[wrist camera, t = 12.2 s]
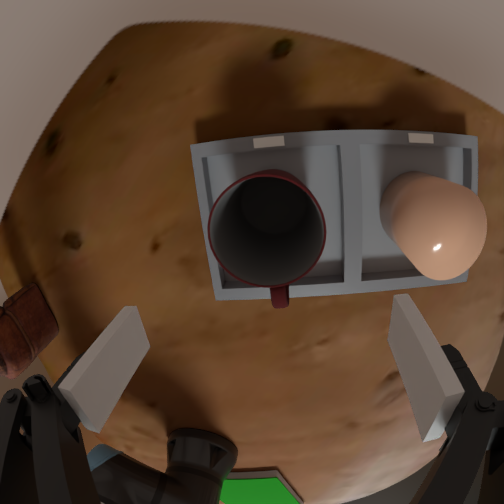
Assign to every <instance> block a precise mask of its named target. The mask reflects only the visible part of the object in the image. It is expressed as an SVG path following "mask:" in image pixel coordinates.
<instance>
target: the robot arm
mask: <svg viewBox="0 0 504 504" xmlns="http://www.w3.org/2000/svg"><path fill="white" fill-rule="evenodd" d="M387 341H388V343H389V346H390V348H391V351H392V353H393V356H394V359H395V361H396V364H397V366H398V369H399V372H400V375H401V377H402V380H403V383H404V386H405V389H406V392H407V394H408V397H409V400H410V403H411V406H412V409H413V413H414V416H415V419H416V422H417V425H418V428H419V432H420V435H421V439H422V442H426V441H430V440H434V439H437V438H440V437H441V435H442V433H443V432H444V430H445V431H446V434H447V436H448V437H447V439H446V440H445V442H444V443H443V445H442V446H441V448H440V449H439V451H440V452H439V454H438V456H437V458H436V460H435V462H434V464H433V465H432V467H431V469H430V471H429V473H428V474H427V476H426V478H425V480H424V481H423V483H422V484H421V486H420V488H419V489H418V491H417V493H416V494H415V496H414V497H413V499H412V500H411V502H410V503H409V504H463V502H464V500H465V498H466V496H467V494H468V492H469V490H470V488H471V486H472V483H473V481H474V479H475V476H476V474H477V472H478V469H479V467H480V464H481V461H482V459H483V456H484V453H485V451H486V457H485V464H484V471H483V478H482V484H481V489H480V494H479V499H478V504H504V401H498V400H497V399H496V398H495V397H494V396H493V395H492V394H490V393H488V392H482V390H481V389H480V387H479V385H478V383H477V381H476V380H475V378H474V376H473V374H472V373H471V371H470V369H469V367H467V364H466V362H465V361H464V360H463V357H462V356H461V354H460V352H459V351H458V350H457V349H456V348H454V347H453V346H452V345H450V344H448V345H443V346H440V345H439V343H438V341H437V340H436V338H435V336H434V334H433V333H432V331H431V329H430V328H429V326H428V324H427V323H426V321H425V320H424V318H423V316H422V315H421V313H420V312H419V310H418V308H417V307H416V305H415V304H414V302H413V301H412V299H411V297H410V296H409V294H399V295H394V298H393V306H392V314H391V321H390V327H389V333H388V339H387ZM149 348H150V344H149V341H148V338H147V336H146V333H145V330H144V327H143V324H142V321H141V318H140V315H139V312H138V309H137V306H124V308H123V309H122V310H121V311H120V312H119V313H118V315H117V316H116V317H115V318H114V319H113V320H112V321H111V323H110V324H109V325H108V326H107V327H106V328H105V330H104V331H103V332H102V333H101V334H100V336H99V337H98V338H97V339H96V340H95V342H94V343H93V344H92V345H91V346H90V348H89V349H88V350H87V351H86V352H83V353H82V354H81V355H79V356H78V357H76V359H75V360H74V361H73V362H72V363H71V366H69V367H68V368H67V371H65V372H64V373H63V374H62V376H61V377H60V378H59V379H58V381H57V382H56V383H55V384H54V386H53V387H52V388H51V386H50V385H49V383H48V382H47V380H46V378H45V377H44V376H43V375H40V374H38V375H33V376H31V377H29V378H28V379H27V380H26V381H25V382H24V383H23V386H22V388H23V390H24V391H25V393H26V394H27V396H28V397H25V396H24V395H23V394H22V392H21V391H20V390H19V389H11V390H9V391H7V392H6V394H5V395H4V396H3V398H2V400H1V403H0V504H219V500H220V495H221V491H222V486H223V482H224V480H225V479H226V477H227V476H228V474H229V473H230V471H231V470H232V468H233V467H234V465H235V463H236V461H237V456H238V450H237V448H236V447H235V446H234V445H233V444H232V443H231V442H230V441H228V440H227V439H225V438H223V437H221V436H219V435H216V434H214V433H211V432H207V431H203V430H198V429H178V430H175V431H173V432H172V433H171V434H170V436H169V439H168V441H167V469H166V472H165V473H163V472H160V471H158V470H156V469H154V468H152V467H150V466H147V465H145V464H143V463H141V462H139V461H137V460H136V459H134V458H132V457H130V456H128V455H126V454H124V453H123V452H122V451H118V450H116V449H114V448H112V447H110V446H108V445H106V444H99V445H97V446H95V447H94V448H93V449H92V450H91V451H90V452H89V453H88V455H86V451H85V447H84V443H83V439H82V434H81V430H80V428H79V427H78V425H79V423H80V421H81V422H82V423H83V425H84V426H85V427H86V429H88V430H91V431H94V432H97V433H100V431H101V429H102V427H103V426H104V424H105V422H106V420H107V419H108V417H109V415H110V413H111V412H112V410H113V408H114V407H115V405H116V403H117V401H118V400H119V398H120V396H121V395H122V393H123V391H124V390H125V388H126V386H127V384H128V383H129V381H130V379H131V378H132V376H133V374H134V373H135V371H136V369H137V368H138V366H139V364H140V363H141V361H142V359H143V358H144V356H145V355H146V353H147V351H148V350H149ZM20 427H21V428H22V430H23V431H24V433H23V435H21V434H20V432H19V430H20Z"/></svg>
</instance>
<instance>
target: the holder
mask: <svg viewBox="0 0 504 504" xmlns="http://www.w3.org/2000/svg"><path fill="white" fill-rule="evenodd" d="M190 147H191V154H192V161H193V168H194V175H195V182H196V188H197V195H198V201H199V208H200V214H201V220H202V226H203V232H204V238H205V244H206V250H207V255H208V261H209V266H210V272H211V277H212V283H213V288H214V293H215V298H216V300H245V299H270V298H271V295H270V288H263V287H256V286H252V285H249V284H246V283H243V282H241V281H239V280H237V279H236V278H234V277H233V276H231V275H230V274H229V273H228V272H226V271H225V270H224V269H223V268H222V267H221V265H220V264H219V263H218V261H217V260H216V258H215V257H214V255H213V252H212V250H211V248H210V244H209V240H208V232H207V225H208V219H209V215H210V212H211V209H212V207H213V205H214V203H215V201H216V200H217V198H218V197H219V196H220V194H221V193H222V192H223V191H224V190H225V189H226V188H227V187H228V186H230V185H231V184H232V183H234V182H235V181H237V180H239V179H240V178H242V177H244V176H246V175H249V174H252V173H255V172H258V171H262V170H267V169H279V170H283V171H286V172H288V173H290V174H292V175H294V176H295V177H296V178H298V179H299V180H300V181H301V182H302V183H303V184H304V185H305V186H306V187H307V188H308V189H309V190H310V191H311V192H312V194H313V195H314V197H315V198H316V200H317V201H318V203H319V205H320V207H321V209H322V212H323V214H324V218H325V222H326V232H327V233H326V242H325V247H324V250H323V252H322V255H321V257H320V259H319V260H318V262H317V264H316V265H315V266H314V267H313V268H312V270H311V271H310V272H309V273H308V274H306V275H305V276H304V277H302V278H301V279H299V280H297V281H295V282H293V283H291V284H289V298H290V297H308V296H324V295H338V294H351V293H364V292H375V291H386V290H397V289H407V288H417V287H426V286H434V285H443V284H451V283H459V282H467V277H468V271H469V269H467V270H466V271H465V272H464V273H462V274H461V275H459V276H457V277H455V278H452V279H448V280H434V279H430V278H428V277H426V276H425V275H423V274H422V273H421V272H420V271H419V270H418V269H417V268H416V267H415V266H414V265H413V263H412V262H411V261H410V260H409V259H408V258H407V257H406V255H405V254H404V253H403V252H402V251H401V250H400V249H399V247H398V246H397V245H396V244H395V243H394V242H393V241H392V240H391V239H390V237H389V236H388V235H387V234H386V232H385V231H384V229H383V227H382V224H381V221H380V213H379V209H380V202H381V198H382V195H383V193H384V191H385V189H386V187H387V186H388V185H389V183H390V182H391V181H392V180H393V179H394V178H396V177H397V176H399V175H400V174H403V173H405V172H409V171H420V172H424V173H427V174H430V175H434V176H437V177H440V178H442V179H445V180H448V181H451V182H454V183H457V184H459V185H462V186H465V187H467V188H469V189H470V190H472V191H473V192H474V193H475V194H476V195H477V190H478V141H477V136H470V135H461V134H451V133H439V132H425V131H406V130H328V131H307V132H292V133H280V134H269V135H259V136H250V137H241V138H233V139H226V140H219V141H212V142H205V143H199V144H193V145H190Z"/></svg>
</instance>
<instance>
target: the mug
mask: <svg viewBox="0 0 504 504" xmlns="http://www.w3.org/2000/svg"><path fill="white" fill-rule="evenodd" d="M207 232H208V240H209V244H210V248H211V250H212V252H213V255H214V257H215V258H216V260H217V261H218V263H219V264H220V265H221V267H222V268H223V269H224V270H225V271H226V272H228V273H229V274H230V275H231V276H233V277H234V278H236V279H237V280H239V281H241V282H243V283H246V284H249V285H252V286H256V287H263V288H270V295H271V301H272V305H273V307H274V308H285V307H288V305H289V284H291V283H293V282H295V281H297V280H299V279H301V278H302V277H304V276H305V275H306V274H308V273H309V272H310V271H311V270H312V268H313V267H314V266H315V265H316V264H317V262H318V260H319V259H320V257H321V255H322V252H323V250H324V247H325V242H326V233H327V232H326V222H325V218H324V214H323V212H322V209H321V207H320V205H319V203H318V201H317V200H316V198H315V197H314V195H313V194H312V192H311V191H310V190H309V189H308V188H307V187H306V186H305V185H304V184H303V183H302V182H301V181H300V180H299V179H298V178H296V177H295V176H294V175H292V174H290V173H288V172H286V171H283V170H279V169H267V170H262V171H258V172H255V173H252V174H249V175H246V176H244V177H242V178H240V179H239V180H237V181H235V182H234V183H232V184H231V185H230V186H228V187H227V188H226V189H225V190H224V191H223V192H222V193H221V194H220V196H219V197H218V198H217V200H216V201H215V203H214V205H213V207H212V209H211V212H210V215H209V219H208V225H207Z"/></svg>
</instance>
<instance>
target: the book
mask: <svg viewBox="0 0 504 504" xmlns="http://www.w3.org/2000/svg"><path fill="white" fill-rule="evenodd" d="M220 500H221V501H222V502H224V503H225V504H304V503H303V501H302V500H301V499H300V498H299V497H298V495H297V494H296V493H295V492H294V491H293V489H292V488H291V487H290V486H289V485H288V483H287V482H286V481H285V480H284V478H283V477H282V476H281V475H280V473H279V472H278V471H277V470H272V471H257V472H230V473H229V474H228V476H227V477H226V479H225V480H224V482H223V486H222V491H221V495H220Z"/></svg>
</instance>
